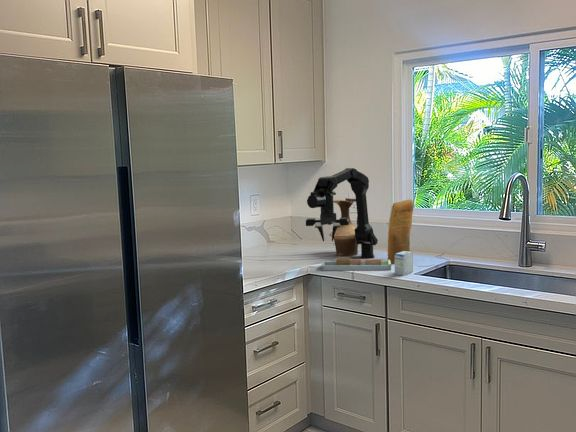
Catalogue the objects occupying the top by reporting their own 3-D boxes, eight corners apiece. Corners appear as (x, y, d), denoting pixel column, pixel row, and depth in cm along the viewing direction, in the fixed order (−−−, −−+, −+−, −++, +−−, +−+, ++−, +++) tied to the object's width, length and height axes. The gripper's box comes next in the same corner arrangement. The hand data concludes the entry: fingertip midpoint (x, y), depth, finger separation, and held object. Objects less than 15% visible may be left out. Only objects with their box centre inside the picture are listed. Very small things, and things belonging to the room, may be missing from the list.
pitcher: (364, 250, 295) (363, 196, 292) (365, 257, 278) (364, 199, 275) (329, 251, 296) (328, 197, 293) (329, 257, 280) (327, 200, 277)
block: (336, 267, 257) (336, 257, 257) (350, 267, 256) (350, 257, 256) (336, 269, 252) (336, 259, 252) (350, 269, 251) (349, 259, 251)
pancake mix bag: (419, 259, 268) (418, 199, 265) (393, 265, 255) (392, 202, 252) (407, 257, 273) (406, 198, 270) (381, 263, 260) (380, 202, 257)
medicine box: (403, 271, 244) (403, 250, 243) (413, 272, 241) (413, 251, 240) (394, 274, 238) (394, 253, 237) (404, 275, 235) (403, 254, 234)
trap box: (323, 264, 264) (323, 258, 264) (389, 263, 260) (389, 258, 260) (321, 270, 251) (320, 264, 250) (391, 269, 247) (390, 264, 246)
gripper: (303, 208, 245) (304, 244, 247) (347, 207, 243) (348, 244, 245) (306, 205, 256) (307, 240, 258) (348, 204, 254) (349, 239, 256)
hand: (328, 241), depth 254 cm, fingers open, 4 cm apart
